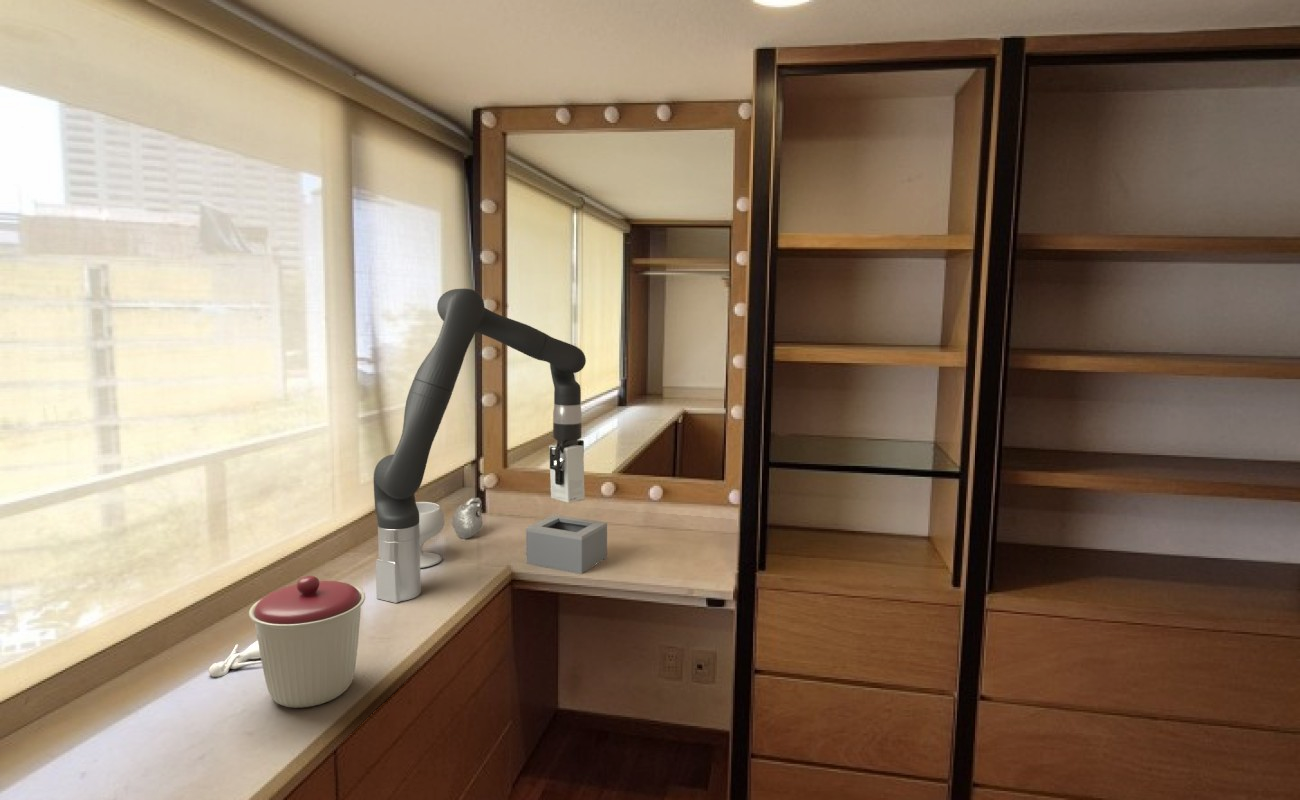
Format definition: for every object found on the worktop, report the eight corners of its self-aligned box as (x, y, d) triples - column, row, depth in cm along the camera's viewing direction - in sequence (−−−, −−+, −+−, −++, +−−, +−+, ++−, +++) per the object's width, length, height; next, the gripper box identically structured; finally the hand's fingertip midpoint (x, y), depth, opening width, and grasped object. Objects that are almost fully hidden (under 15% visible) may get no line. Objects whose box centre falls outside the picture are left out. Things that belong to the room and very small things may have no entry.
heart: (450, 530, 217) (449, 494, 214) (481, 527, 220) (481, 492, 216) (451, 545, 208) (450, 508, 204) (484, 543, 211) (484, 506, 207)
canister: (314, 730, 113) (308, 604, 110) (228, 709, 119) (221, 588, 116) (389, 677, 130) (386, 566, 127) (311, 660, 136) (307, 554, 133)
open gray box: (581, 574, 183) (581, 536, 182) (526, 563, 190) (526, 527, 189) (606, 557, 196) (607, 522, 195) (554, 548, 203) (554, 514, 202)
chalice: (379, 567, 185) (377, 512, 183) (410, 551, 198) (409, 498, 197) (426, 573, 181) (424, 517, 180) (455, 556, 195) (454, 503, 193)
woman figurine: (316, 625, 141) (227, 670, 125) (319, 646, 142) (230, 693, 126) (279, 613, 146) (189, 654, 131) (282, 632, 147) (192, 676, 132)
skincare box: (585, 500, 190) (585, 445, 188) (567, 504, 186) (567, 448, 184) (566, 494, 196) (566, 441, 194) (548, 497, 192) (548, 443, 190)
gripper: (565, 425, 180) (565, 488, 182) (592, 418, 193) (592, 477, 195) (540, 423, 183) (540, 485, 185) (569, 416, 196) (568, 474, 198)
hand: (567, 481), depth 190 cm, fingers closed on skincare box, 7 cm apart
